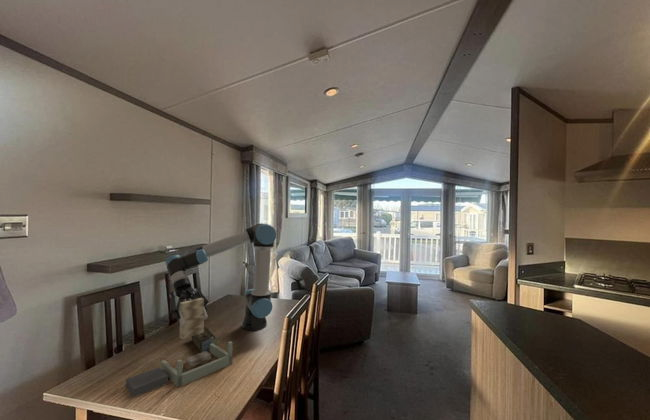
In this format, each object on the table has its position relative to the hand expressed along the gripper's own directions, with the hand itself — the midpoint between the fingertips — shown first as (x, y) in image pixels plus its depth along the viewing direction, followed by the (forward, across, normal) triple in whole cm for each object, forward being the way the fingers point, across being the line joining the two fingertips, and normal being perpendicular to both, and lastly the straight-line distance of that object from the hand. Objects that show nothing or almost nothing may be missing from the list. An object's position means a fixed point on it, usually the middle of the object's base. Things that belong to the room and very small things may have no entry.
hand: (195, 321), depth 130 cm
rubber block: (+15, +20, -13) cm, 28 cm away
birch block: (+3, 0, -7) cm, 8 cm away
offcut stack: (+18, +1, -10) cm, 21 cm away
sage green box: (+16, 0, -12) cm, 20 cm away
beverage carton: (+3, -12, -26) cm, 29 cm away
